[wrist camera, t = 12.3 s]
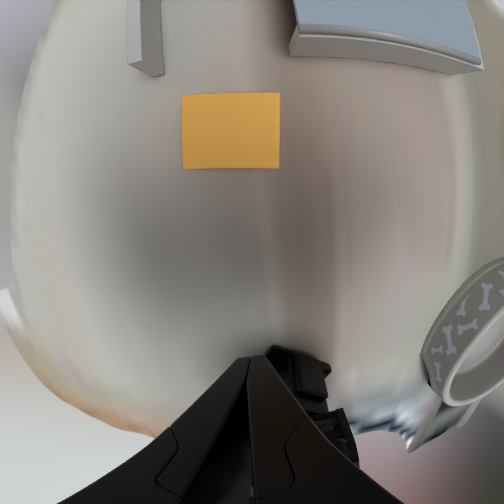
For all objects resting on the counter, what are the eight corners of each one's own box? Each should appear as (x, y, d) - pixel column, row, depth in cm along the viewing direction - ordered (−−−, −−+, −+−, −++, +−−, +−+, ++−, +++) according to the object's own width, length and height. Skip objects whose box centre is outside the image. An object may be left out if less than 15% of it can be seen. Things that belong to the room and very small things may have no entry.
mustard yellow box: (274, 162, 17) (279, 168, 14) (196, 163, 17) (182, 169, 14) (275, 101, 16) (280, 93, 12) (195, 103, 16) (181, 95, 12)
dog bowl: (430, 400, 28) (444, 429, 23) (405, 319, 22) (431, 358, 17) (518, 331, 24) (537, 353, 19) (521, 227, 18) (554, 246, 13)
